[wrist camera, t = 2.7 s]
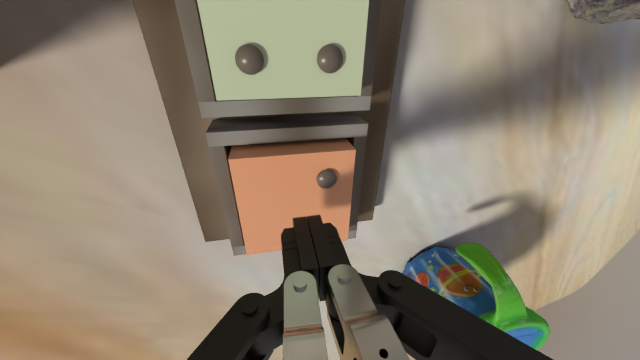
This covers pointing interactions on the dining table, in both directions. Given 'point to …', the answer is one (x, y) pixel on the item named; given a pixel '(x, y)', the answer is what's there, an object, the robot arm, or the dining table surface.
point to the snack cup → (479, 289)
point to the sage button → (285, 47)
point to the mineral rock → (605, 10)
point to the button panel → (263, 112)
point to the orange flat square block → (291, 187)
